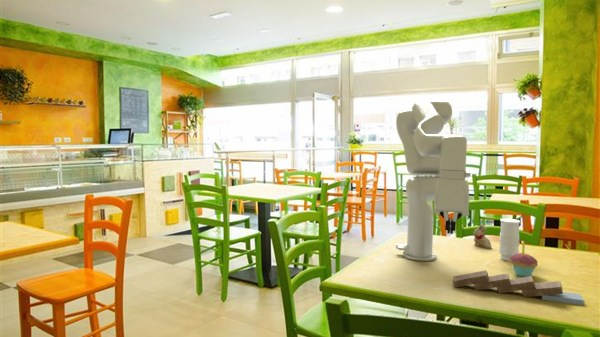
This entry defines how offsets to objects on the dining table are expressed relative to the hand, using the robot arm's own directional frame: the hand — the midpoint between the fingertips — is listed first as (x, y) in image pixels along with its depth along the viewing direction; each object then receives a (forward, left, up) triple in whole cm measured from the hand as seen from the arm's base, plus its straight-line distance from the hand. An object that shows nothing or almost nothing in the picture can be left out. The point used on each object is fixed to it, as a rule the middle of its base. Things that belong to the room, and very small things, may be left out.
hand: (450, 232), depth 130 cm
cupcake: (+23, +19, -17) cm, 34 cm away
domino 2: (+8, -1, -16) cm, 17 cm away
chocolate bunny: (+11, +54, -17) cm, 58 cm away
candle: (+20, +38, -17) cm, 46 cm away
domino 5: (+26, -1, -16) cm, 30 cm away
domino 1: (+2, -1, -16) cm, 16 cm away
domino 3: (+14, -1, -16) cm, 21 cm away
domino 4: (+21, -1, -15) cm, 26 cm away
